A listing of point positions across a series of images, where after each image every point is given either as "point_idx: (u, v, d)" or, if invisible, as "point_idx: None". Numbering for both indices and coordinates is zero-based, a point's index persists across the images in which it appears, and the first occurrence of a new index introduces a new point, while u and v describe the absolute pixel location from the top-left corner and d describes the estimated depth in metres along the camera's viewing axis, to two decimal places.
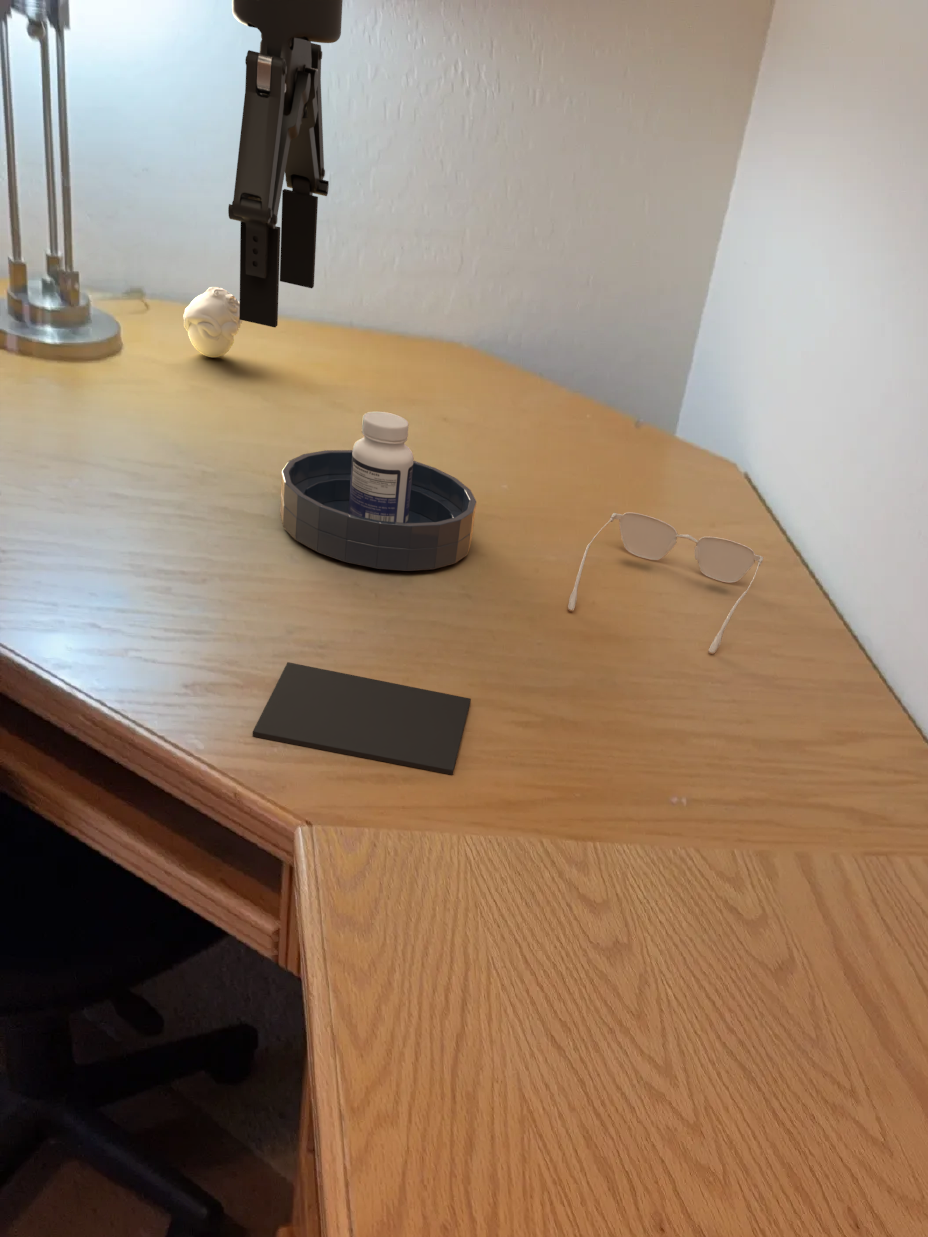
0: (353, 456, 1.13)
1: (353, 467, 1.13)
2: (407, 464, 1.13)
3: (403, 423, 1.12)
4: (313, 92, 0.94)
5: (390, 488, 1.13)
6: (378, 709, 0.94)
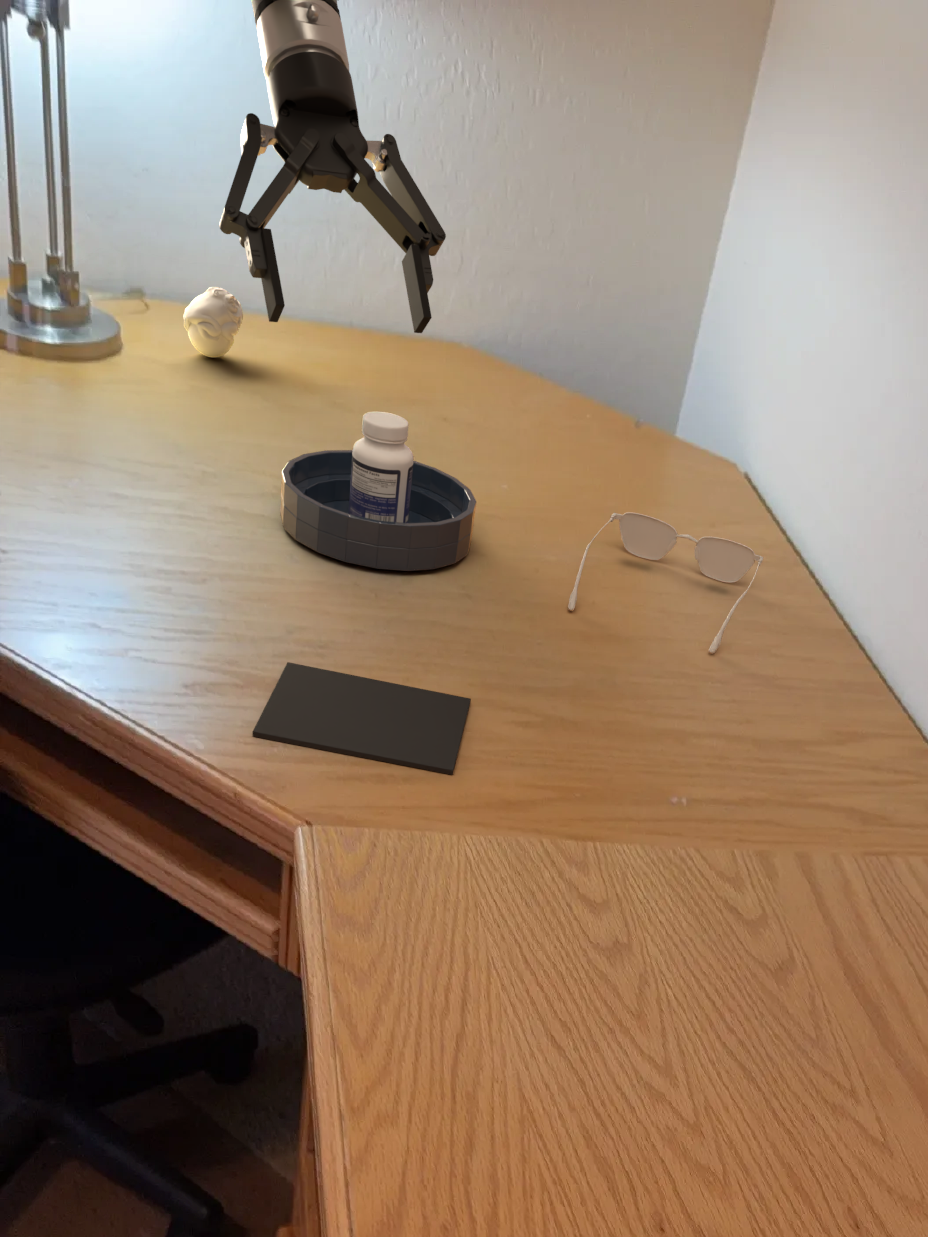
0: (353, 456, 1.13)
1: (353, 467, 1.13)
2: (407, 464, 1.13)
3: (403, 423, 1.12)
4: (341, 148, 1.13)
5: (390, 488, 1.13)
6: (378, 709, 0.94)
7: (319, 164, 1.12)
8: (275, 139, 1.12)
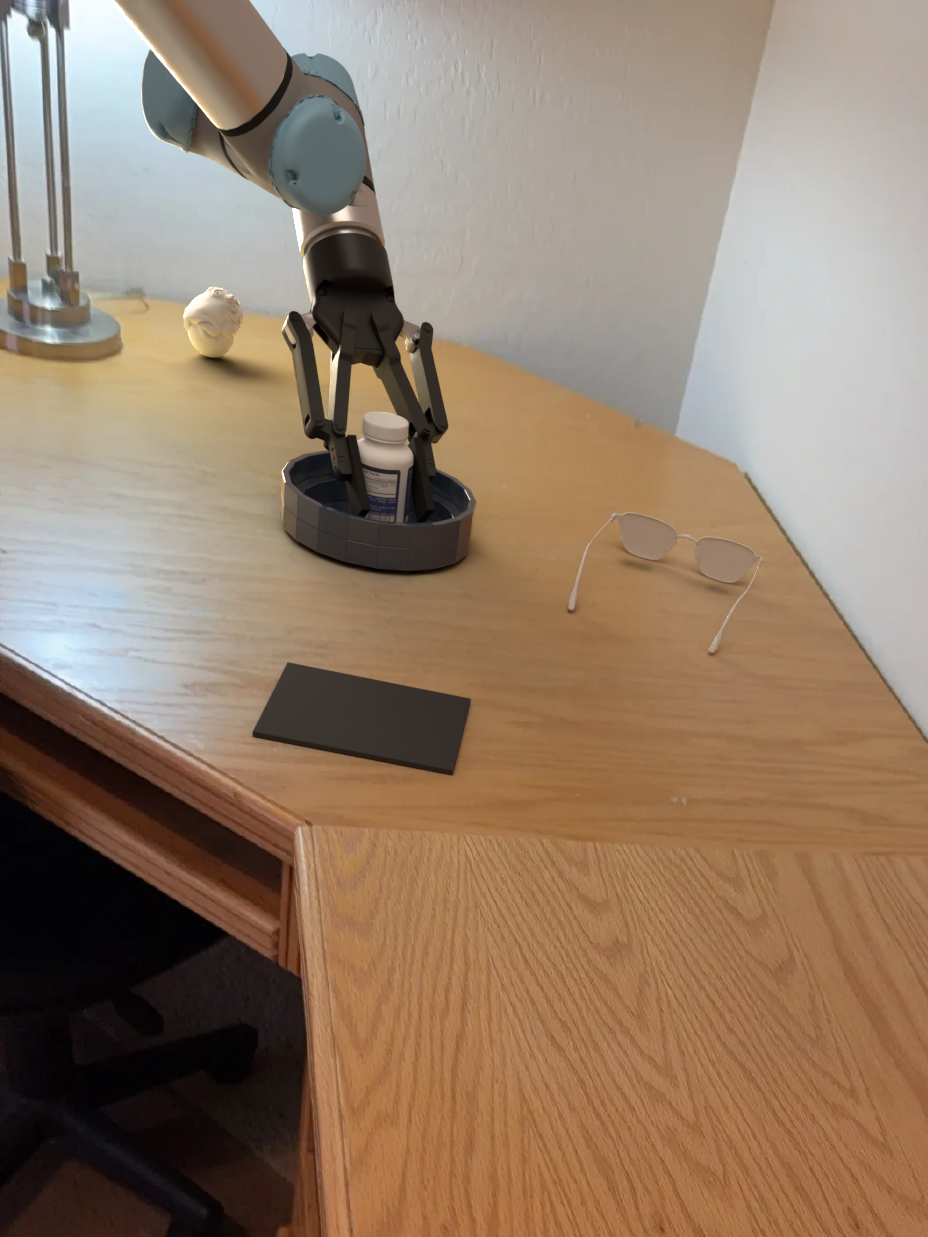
0: None
1: None
2: (407, 464, 1.13)
3: (403, 423, 1.12)
4: (374, 323, 1.12)
5: (390, 488, 1.13)
6: (378, 709, 0.94)
7: (356, 341, 1.12)
8: (317, 323, 1.11)
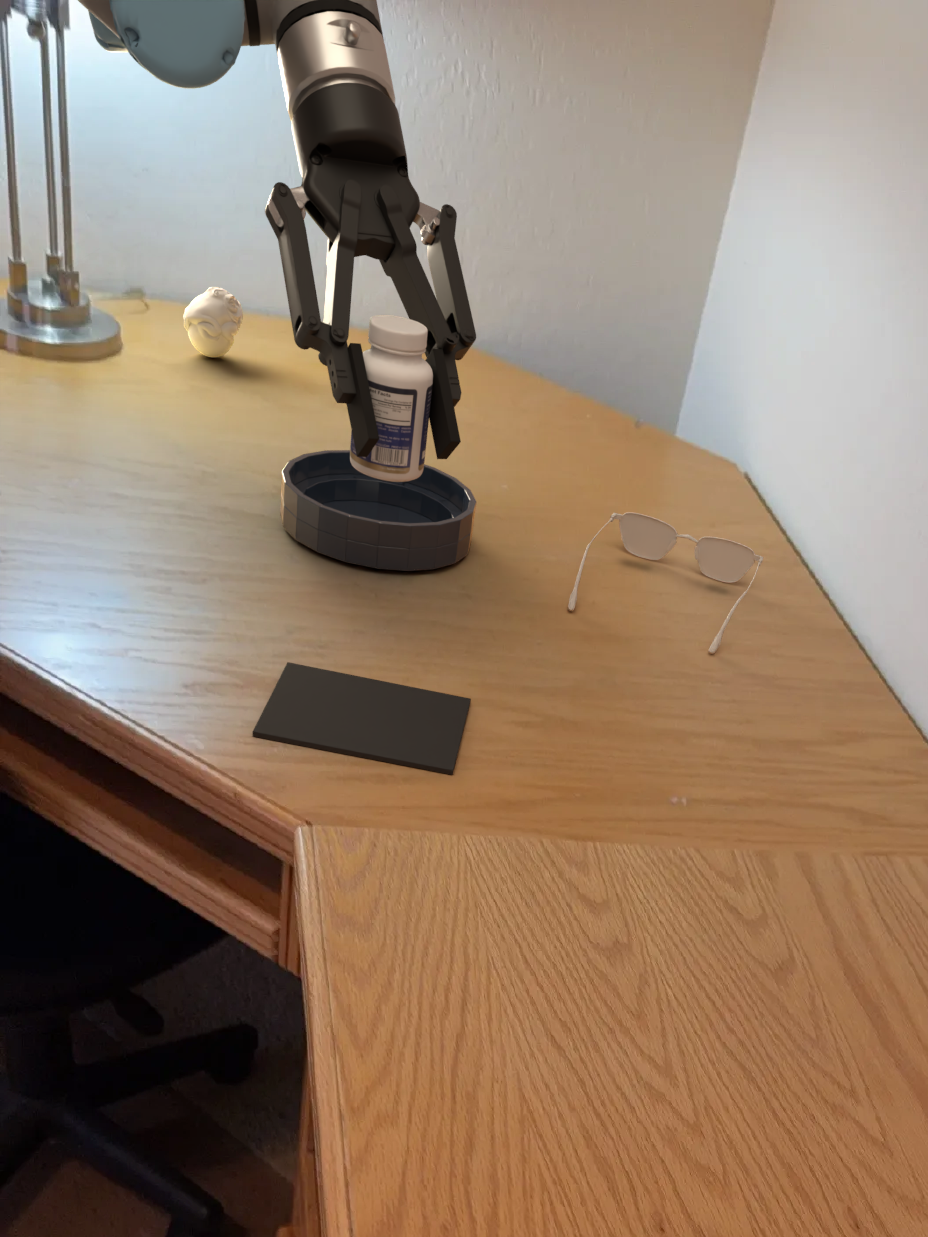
0: None
1: None
2: (426, 382, 0.89)
3: (421, 329, 0.88)
4: (383, 202, 0.88)
5: (404, 413, 0.89)
6: (378, 709, 0.94)
7: (360, 225, 0.88)
8: (310, 201, 0.87)
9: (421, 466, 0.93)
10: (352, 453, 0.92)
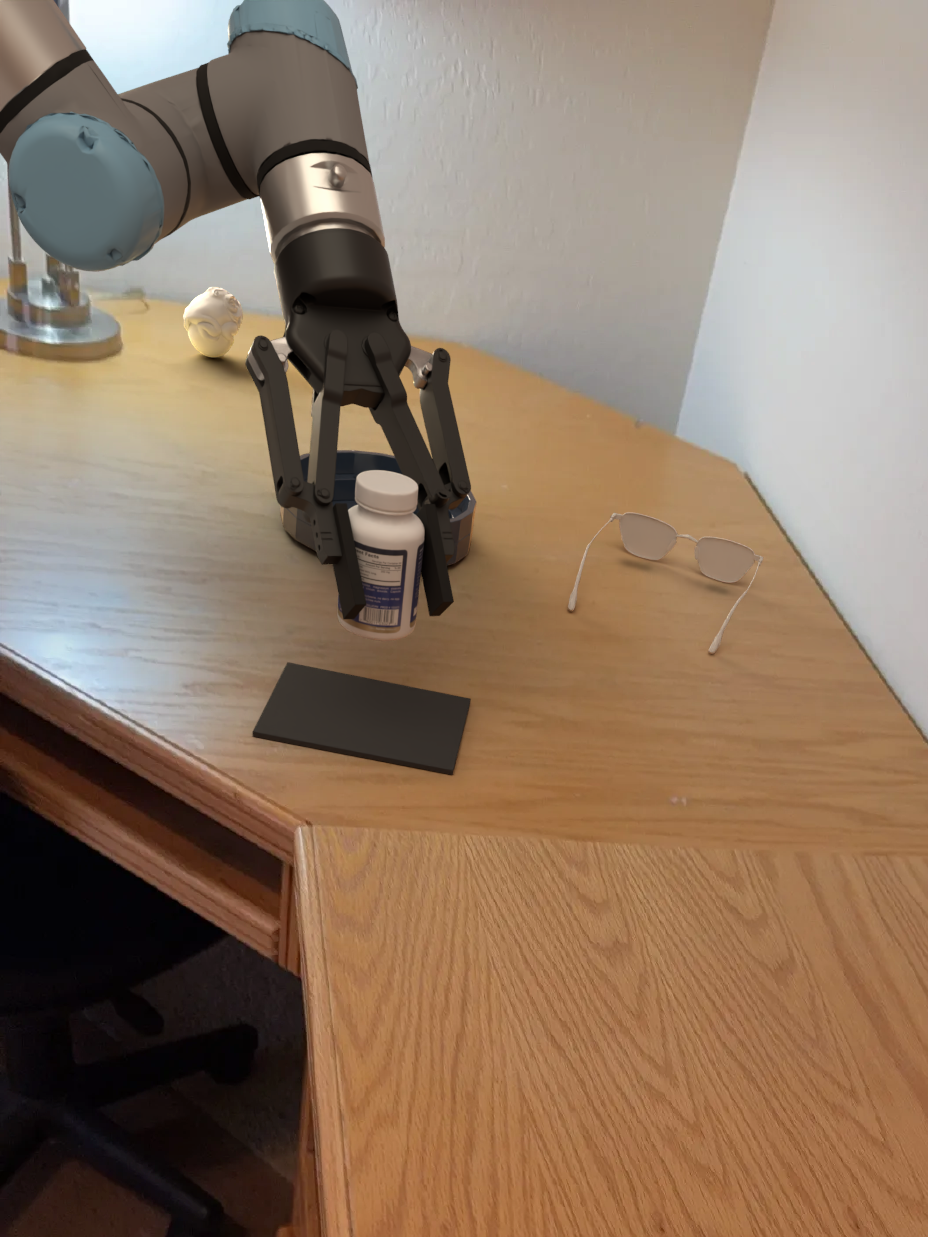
0: None
1: None
2: (417, 541, 0.83)
3: (411, 487, 0.82)
4: (371, 351, 0.83)
5: (393, 574, 0.84)
6: (378, 709, 0.94)
7: (347, 376, 0.83)
8: (293, 352, 0.82)
9: (413, 623, 0.88)
10: (339, 611, 0.87)
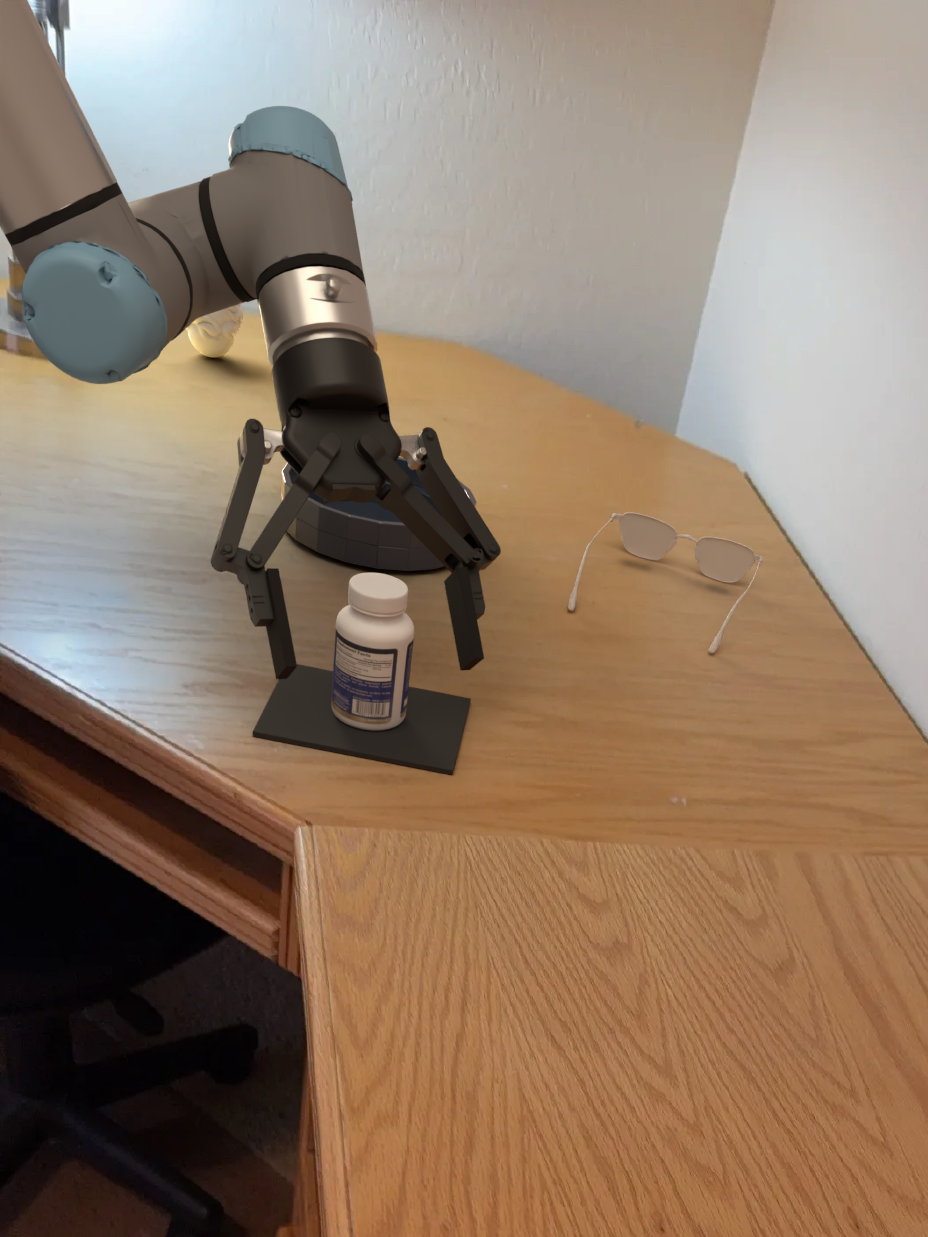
0: (337, 630, 0.88)
1: (337, 643, 0.88)
2: (407, 640, 0.88)
3: (401, 590, 0.87)
4: (368, 454, 0.87)
5: (384, 670, 0.88)
6: None
7: (340, 475, 0.87)
8: (283, 446, 0.86)
9: (403, 713, 0.92)
10: (333, 702, 0.91)
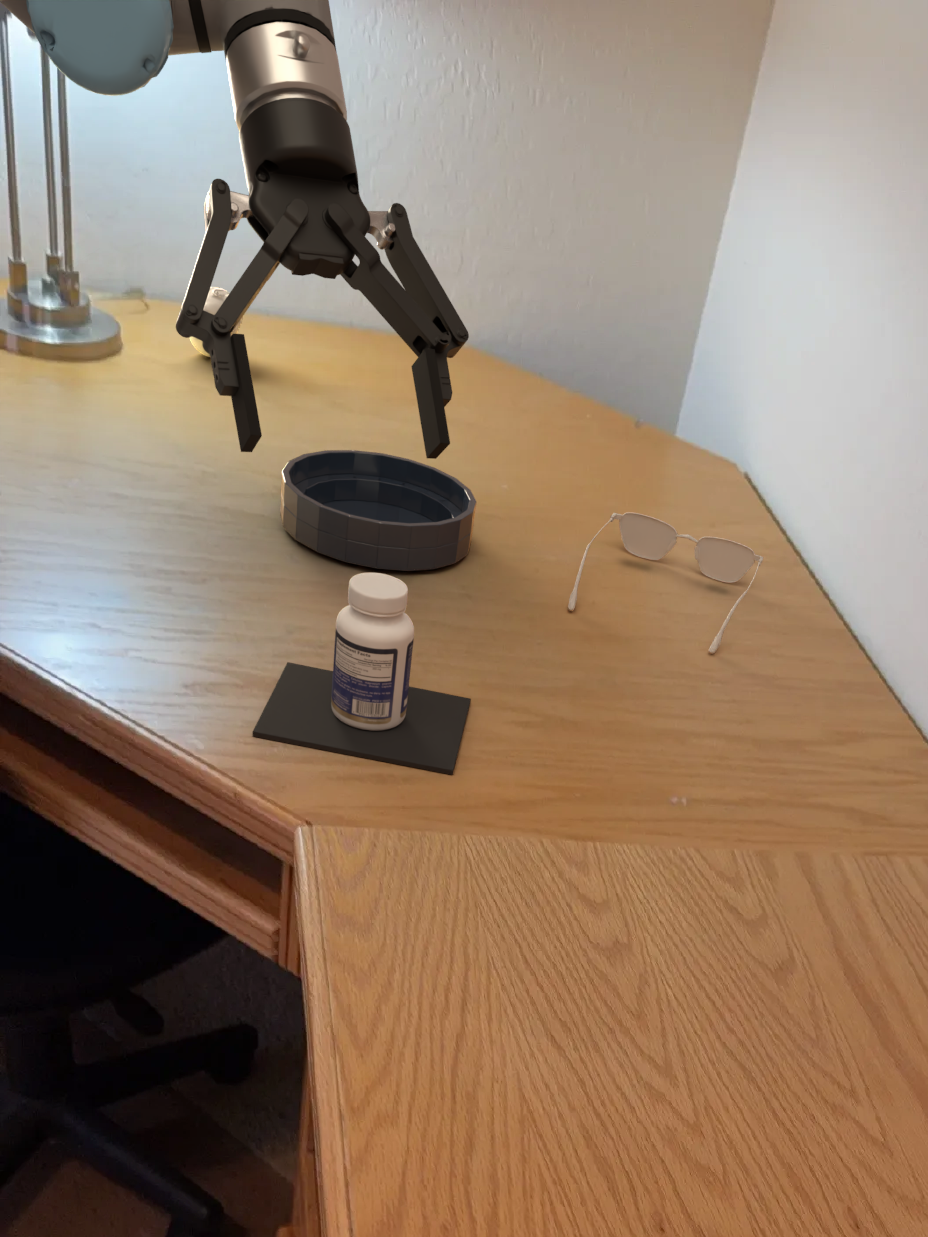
0: (337, 630, 0.88)
1: (337, 643, 0.88)
2: (406, 640, 0.88)
3: (401, 590, 0.87)
4: (336, 224, 0.86)
5: (384, 670, 0.88)
6: None
7: (307, 245, 0.86)
8: (250, 212, 0.85)
9: (403, 713, 0.92)
10: (333, 703, 0.91)
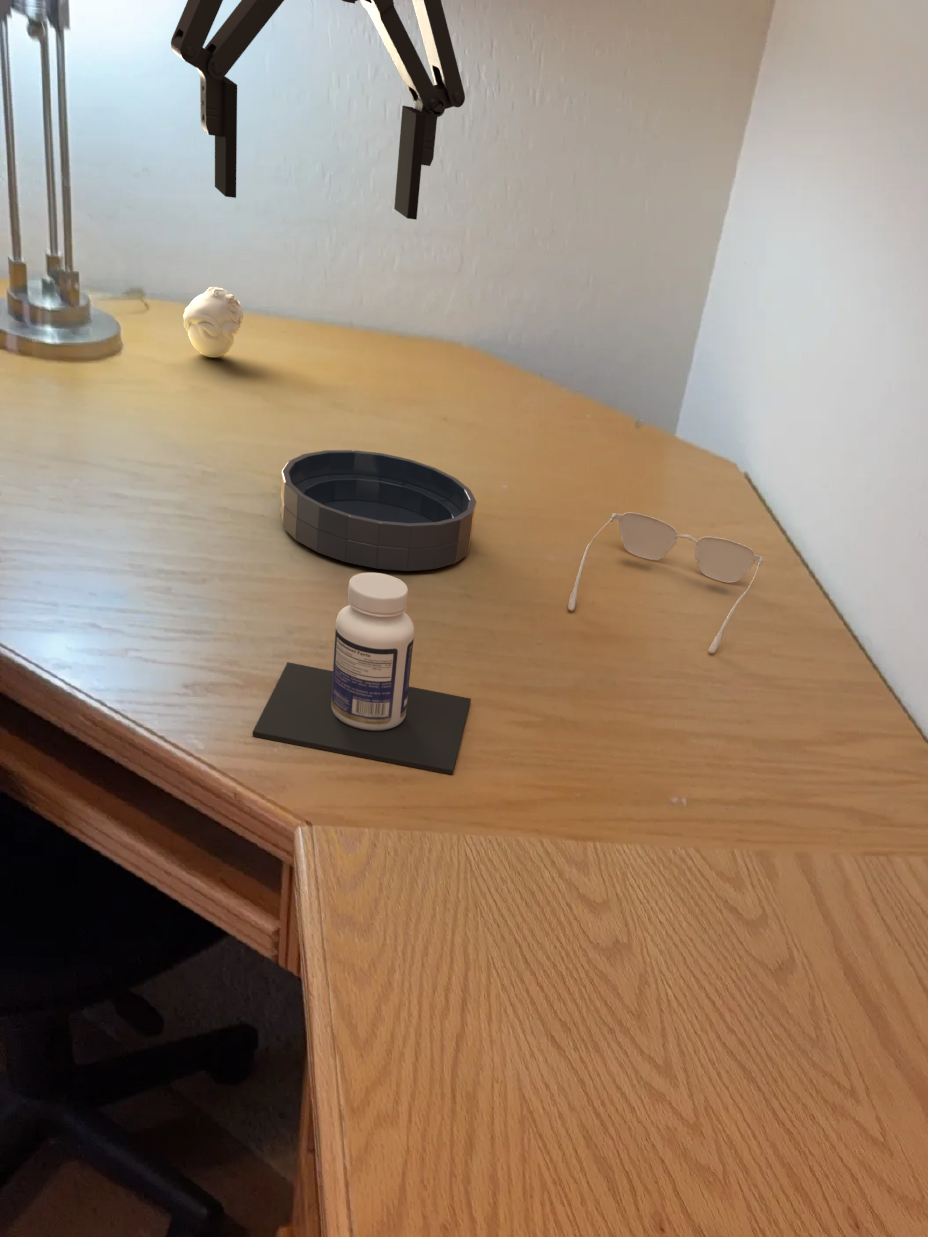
0: (337, 630, 0.88)
1: (337, 643, 0.88)
2: (406, 640, 0.88)
3: (401, 590, 0.87)
4: None
5: (384, 670, 0.88)
6: None
7: None
8: None
9: (403, 713, 0.92)
10: (333, 703, 0.91)
